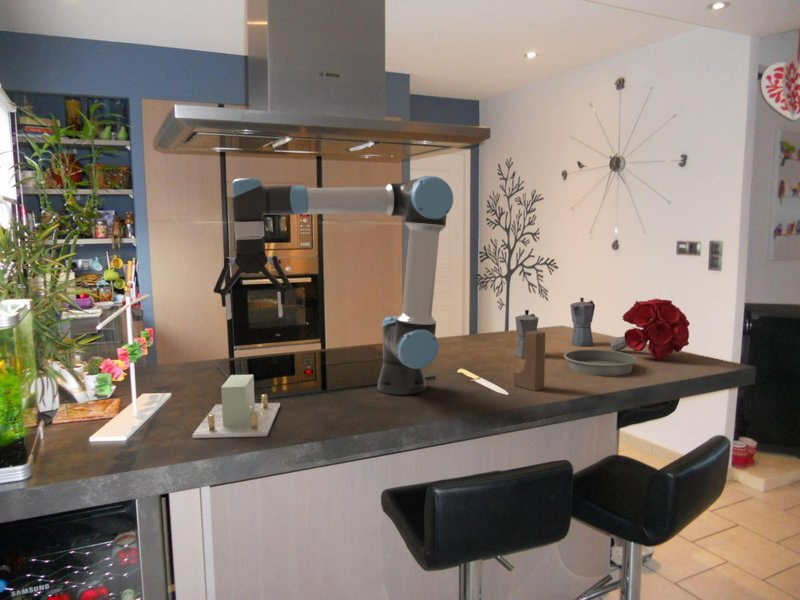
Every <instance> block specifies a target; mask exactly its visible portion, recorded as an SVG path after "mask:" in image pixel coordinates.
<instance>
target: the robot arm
mask: <svg viewBox="0 0 800 600" xmlns="http://www.w3.org/2000/svg"><path fill="white" fill-rule="evenodd" d="M231 190H232V192H231V193H232V195H231V196H232V197H231V200H232V207H233V208H232V209H233V210H232V211H233V219H234V220H233V225H234V226H233V227H234V237H235V238H237V239H236V240H235V241H234V242H235V255H236V256H235V258H233V257H229V256H227V257H225V258H224V259H223V267H222V269H221V272H220V274H219V276H218V279H217V281H216V283H215V285H214V288H213V293H214V294H219V296H220V297H221V298H220V299H221V306H222V308H225V313H226V320H227V321H229V320H231V319H232V318H233V317H232V302H231V293H228V292H229V290H230V289H232V287H233V286H234V284H235V283H236V282H237V280H238V279H239V278H240V277H241V276H242V274H246V275H247V274H248V275H249V274H255V275H256V274H259V273H261V274H263V276H265V277H266V278H267V280H269V282H270V283H271V284H272V285H273V286H274V287H275V288H276V289H277V290H278V292H277V307H278V308H277V309H278V318H282V317H283V314H284V313H283V305H286V302H287V296H286V295H287V294H286V292H288V291H290V290H292V288H293V286H292V284H291V282H290V280H289V277H287V275H286V273H285V271H284V270H283V268H282V266H281V265H280V262H279V258H278V255H273V256H267V254H266V243H265V242H266V241H265V239H264V238H263V237H265V225H264V224H265V223H264V216H270V215H273V216H274V215H275V216H277V215H278V216H293V215H296V216H298V215H329V214H330V215H334V214H335V215H336V214H339V215H340V214H376V213H378V214H381V213H382V214H383V213H385V214H387V215H388V216H389V217H405V218H404V225H405V226H406V227H407V228H408V230H409V231H408V241H407V242H408V243H407V253H406V265H405V275H404V286H403V298H402V299H403V300H402V309H401V314H399V315H398V316H397V315H395V316H386V317H385V318H383V319H382V327H381V328H382V367H381V370H380V374H379V377H378V380H377V391H380V392H381V393H384V394H387V395H395V396H396V395H398V396H406V395H416V394H419V393H422V392H424V391H425V390H426V389H427V388H426V387H427V382H426V379H425V374H424V371H423V369H424V368H426V367H429V366H430V365H431V364H432V363H433V362H434V361H435V360H436V358H437V356H438V355H439V351H440V347H439V345H440V344H439V341H438V338H437V337H436V329H437V328H436V327H437V321H436V319H435V318H434V317H433V304H434V294H435V283H436V274H437V273H436V272H437V263H438V253H439V244H440V243H439V241H440V233H441V231H443V230H444V229H445V228H446V227H447V226H446V224H447V216H448V214H449V213H450V211H451V209H452V207H453V205H454V193H453V190H452V188H451V186H450V185H449V183H448V182H447V181H446V180H445V179H443V178H441V177H438V176H434V175H424V176H421V177H419V178H415V179H411V180H408V181H403V182H397V183H396V182H395V183H391V182H389V183H388V184H387V185H386V186H368V187H367V186H365V187H363V186H362V187H360V186H359V187H356V186H355V187H354V186H351V187H306V186H304V185H275V186H274V185H273V186H268V185H263V184H262V181H261V179H260V178H255V177H253V178H252V177H251V178H249V177H247V178H243V177H241V178H235V179H234V180H233V181H232V183H231ZM268 262H269V263H270V264H271V265H273V267H274V270H276V272H277V274H278V275H279V277H280V279H281V281H282V283H283V284H284V285H283V284H282V283H281V282H280V281H279V280H278V279H277V278H276V277H275V276H274V275H273V274H272V272H270V271H269V269H268V268H267V267H266V265H267V263H268ZM234 263H235V265H236V266H237V267H238V269H237V270H236V271H235V273H234V274H233V275H232V277H231V278H230V279H229V281H228V282H227V283H226V284H225V286H224V287H223V288H222V286H223V283H224V282H225V279H226V277H227V275H228V273H229V270H230V268H231V267H232V266H233V265H234Z"/></svg>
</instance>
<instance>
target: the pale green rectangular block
mask: <svg viewBox="0 0 800 600" xmlns="http://www.w3.org/2000/svg"><path fill="white" fill-rule="evenodd" d="M220 389H221V390H220V391H221V394H220V395H221V404H222V415H223V425H247V424H248V422H249V420H250V418H251V414H252V413H254V411H255V403H256V402H255V379H254V374H231V375H230V376H229V377H228V378H227V380H226V381H225V382H224V383H223V384H222V385H221V387H220Z"/></svg>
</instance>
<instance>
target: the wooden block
mask: <svg viewBox="0 0 800 600" xmlns="http://www.w3.org/2000/svg"><path fill="white" fill-rule="evenodd" d="M545 361H546V332H545V331H538V330H537V331H530V332H526V340H525V358H524V366H523V369H519V370H515V371H513V377H512V378H513V381H512V385H513V386H516V387H519V388H523V389H525V390H526V389H527V390H531V391H532V392H533V391H534V392H536V391H540V390H543V389H545V369H546V368H545V367H546V366H545Z"/></svg>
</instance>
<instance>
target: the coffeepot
mask: <svg viewBox="0 0 800 600" xmlns="http://www.w3.org/2000/svg"><path fill="white" fill-rule="evenodd" d="M529 313H530V310H528V309H525V310H524V314H523V315H522V314H521V315H518V316H515V317H514V318H515V327H516V335H517V339H516V343H515V348H514V349H515V350H514V356H515V357H516V358H519V359H525V340H526V332H530V331H538V324H539V317H538V316H536V315H535V314H534V313H531V314H529Z"/></svg>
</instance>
